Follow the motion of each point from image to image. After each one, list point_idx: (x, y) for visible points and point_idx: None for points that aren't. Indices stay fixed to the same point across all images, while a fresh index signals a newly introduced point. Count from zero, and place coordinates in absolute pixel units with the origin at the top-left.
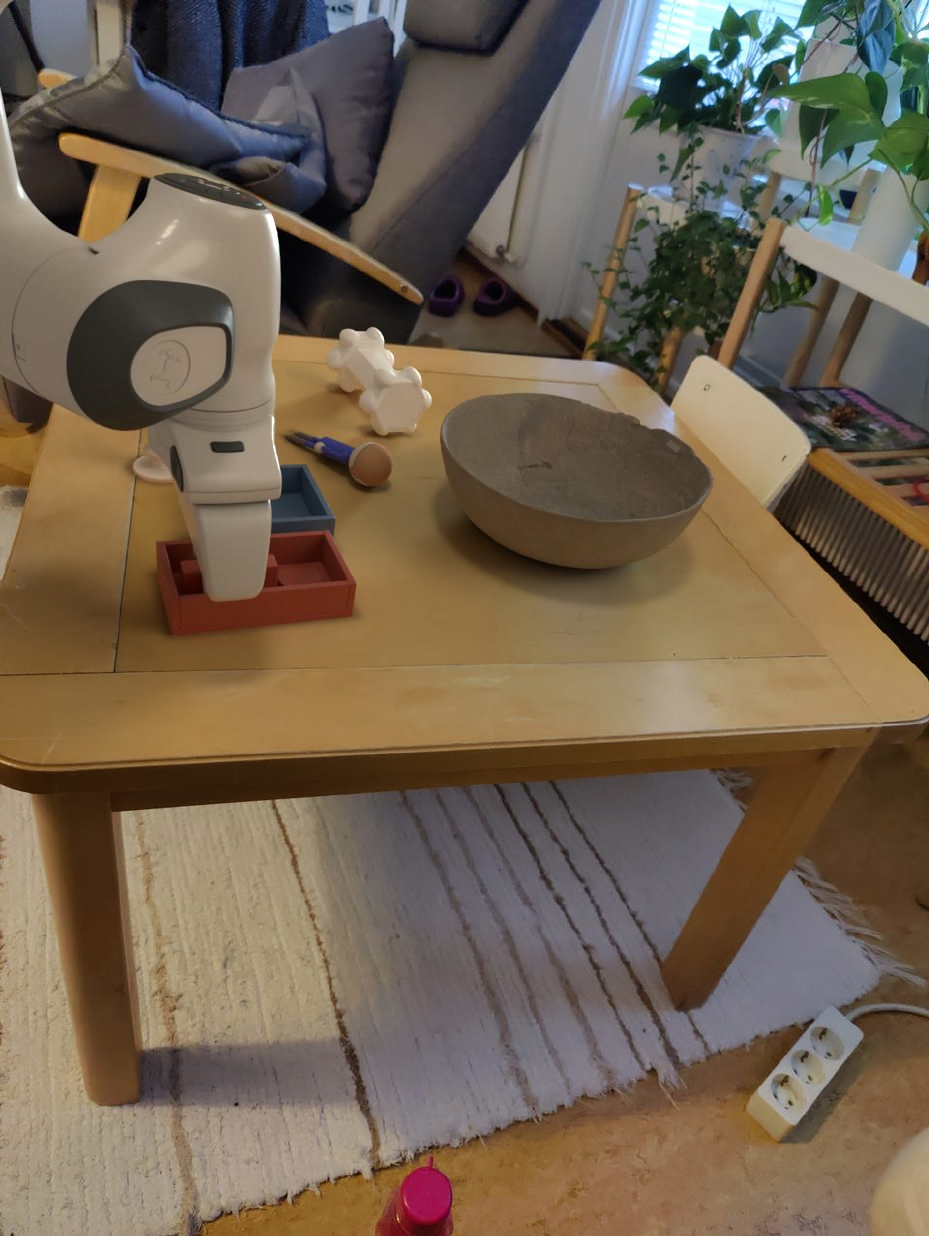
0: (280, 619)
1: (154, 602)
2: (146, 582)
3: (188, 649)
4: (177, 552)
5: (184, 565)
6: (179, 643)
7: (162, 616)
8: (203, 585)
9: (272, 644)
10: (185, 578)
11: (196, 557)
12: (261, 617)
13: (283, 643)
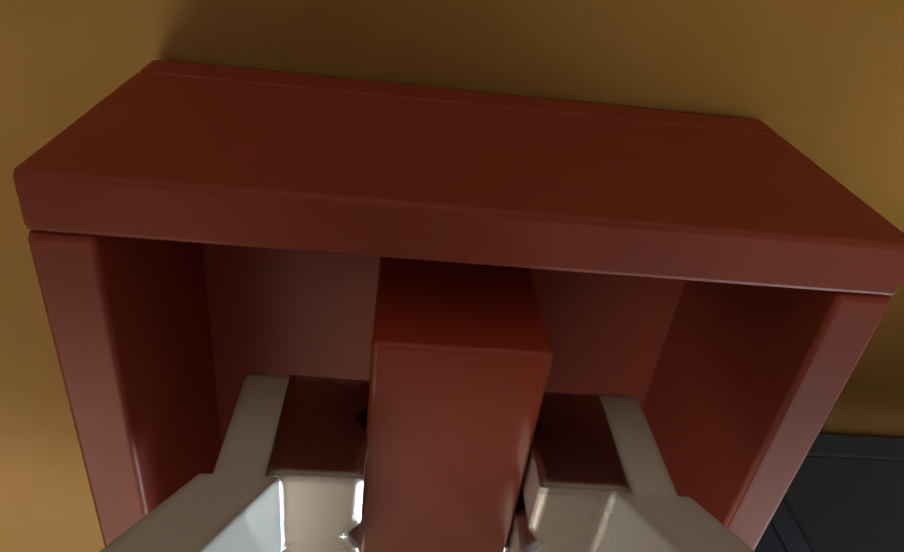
0: None
1: (523, 40)
2: (738, 44)
3: (35, 115)
4: (766, 325)
5: (483, 367)
6: (94, 81)
7: (372, 52)
8: (238, 410)
9: (76, 453)
10: (376, 321)
11: (536, 461)
12: None
13: (82, 486)
